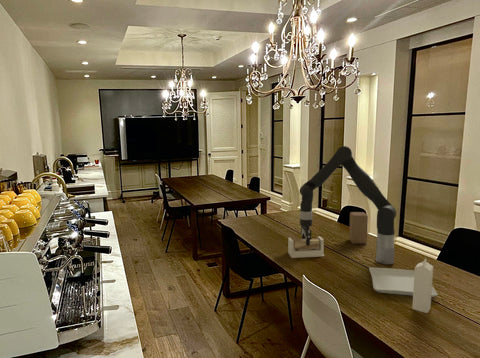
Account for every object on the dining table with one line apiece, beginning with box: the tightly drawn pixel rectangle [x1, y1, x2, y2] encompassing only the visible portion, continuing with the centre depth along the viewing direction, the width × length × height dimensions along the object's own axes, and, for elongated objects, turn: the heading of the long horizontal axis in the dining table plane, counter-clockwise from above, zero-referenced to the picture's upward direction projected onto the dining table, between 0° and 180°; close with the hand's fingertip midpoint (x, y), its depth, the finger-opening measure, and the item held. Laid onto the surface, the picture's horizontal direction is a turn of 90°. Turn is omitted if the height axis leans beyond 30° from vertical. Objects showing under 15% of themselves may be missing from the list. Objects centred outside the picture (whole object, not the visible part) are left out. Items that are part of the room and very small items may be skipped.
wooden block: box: [348, 211, 369, 245], centre depth 235 cm, size 10×10×20 cm
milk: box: [411, 258, 434, 314], centre depth 147 cm, size 6×6×22 cm
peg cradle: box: [287, 236, 325, 259], centre depth 214 cm, size 10×20×10 cm, turn 95°
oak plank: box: [292, 237, 319, 250], centre depth 214 cm, size 4×15×5 cm, turn 95°
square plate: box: [368, 267, 439, 298], centre depth 170 cm, size 27×27×4 cm
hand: (305, 243), depth 214 cm, fingers open, 8 cm apart
